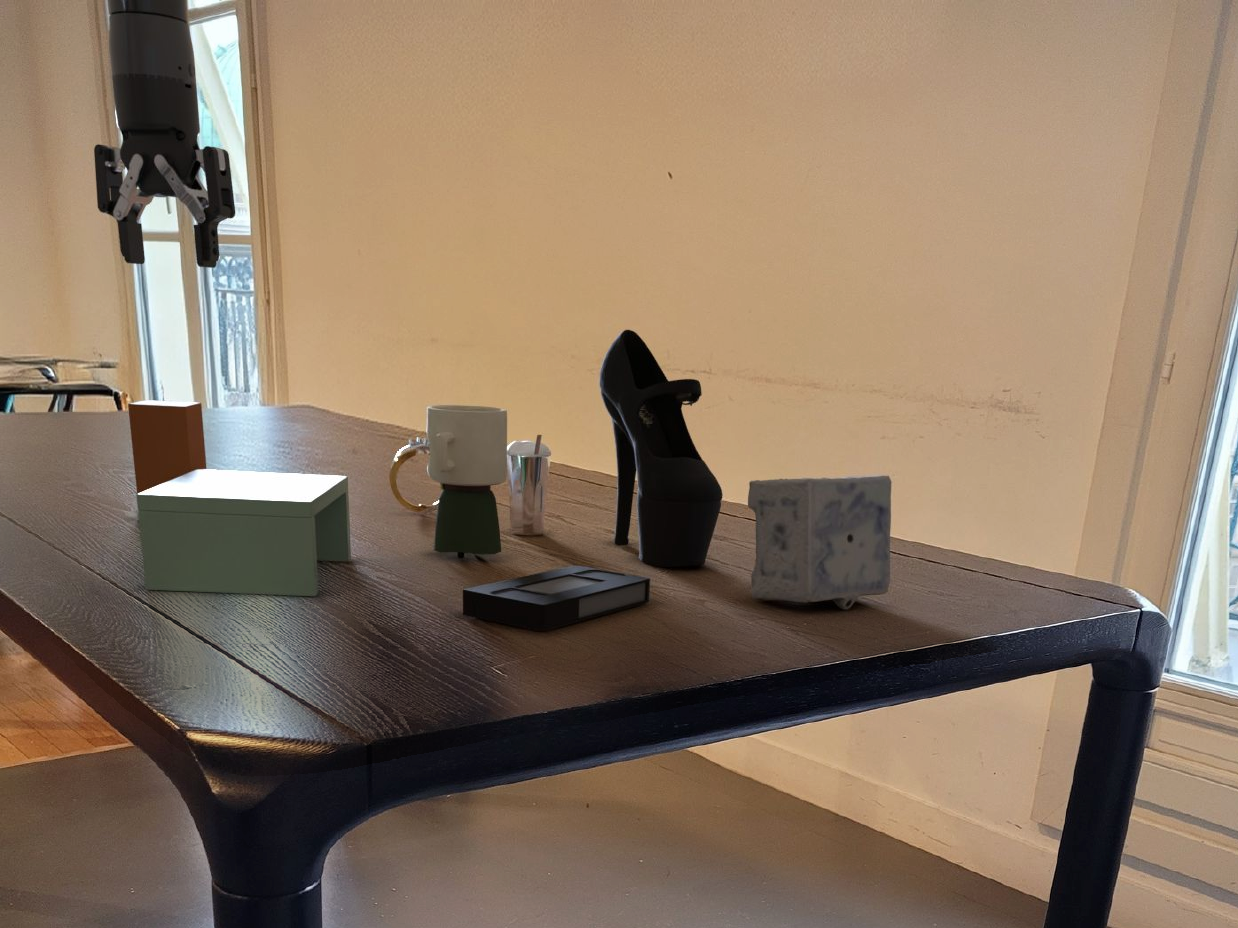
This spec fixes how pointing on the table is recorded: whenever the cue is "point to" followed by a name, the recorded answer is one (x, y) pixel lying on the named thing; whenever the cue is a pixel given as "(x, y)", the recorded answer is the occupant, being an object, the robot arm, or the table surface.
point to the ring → (398, 460)
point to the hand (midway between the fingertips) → (170, 265)
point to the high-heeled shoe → (657, 458)
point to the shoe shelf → (243, 531)
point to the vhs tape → (555, 597)
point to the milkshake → (528, 485)
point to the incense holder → (821, 538)
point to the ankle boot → (165, 441)
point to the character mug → (467, 475)
